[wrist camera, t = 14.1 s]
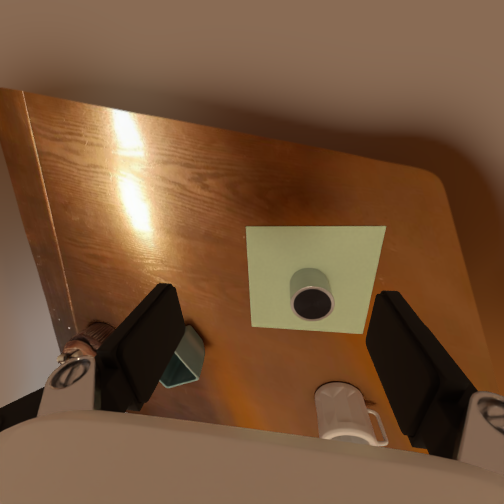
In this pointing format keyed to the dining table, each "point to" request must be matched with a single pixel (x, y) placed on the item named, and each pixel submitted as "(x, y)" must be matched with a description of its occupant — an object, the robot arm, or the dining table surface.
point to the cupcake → (86, 342)
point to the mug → (345, 415)
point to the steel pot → (311, 295)
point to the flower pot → (185, 360)
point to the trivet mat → (318, 257)
